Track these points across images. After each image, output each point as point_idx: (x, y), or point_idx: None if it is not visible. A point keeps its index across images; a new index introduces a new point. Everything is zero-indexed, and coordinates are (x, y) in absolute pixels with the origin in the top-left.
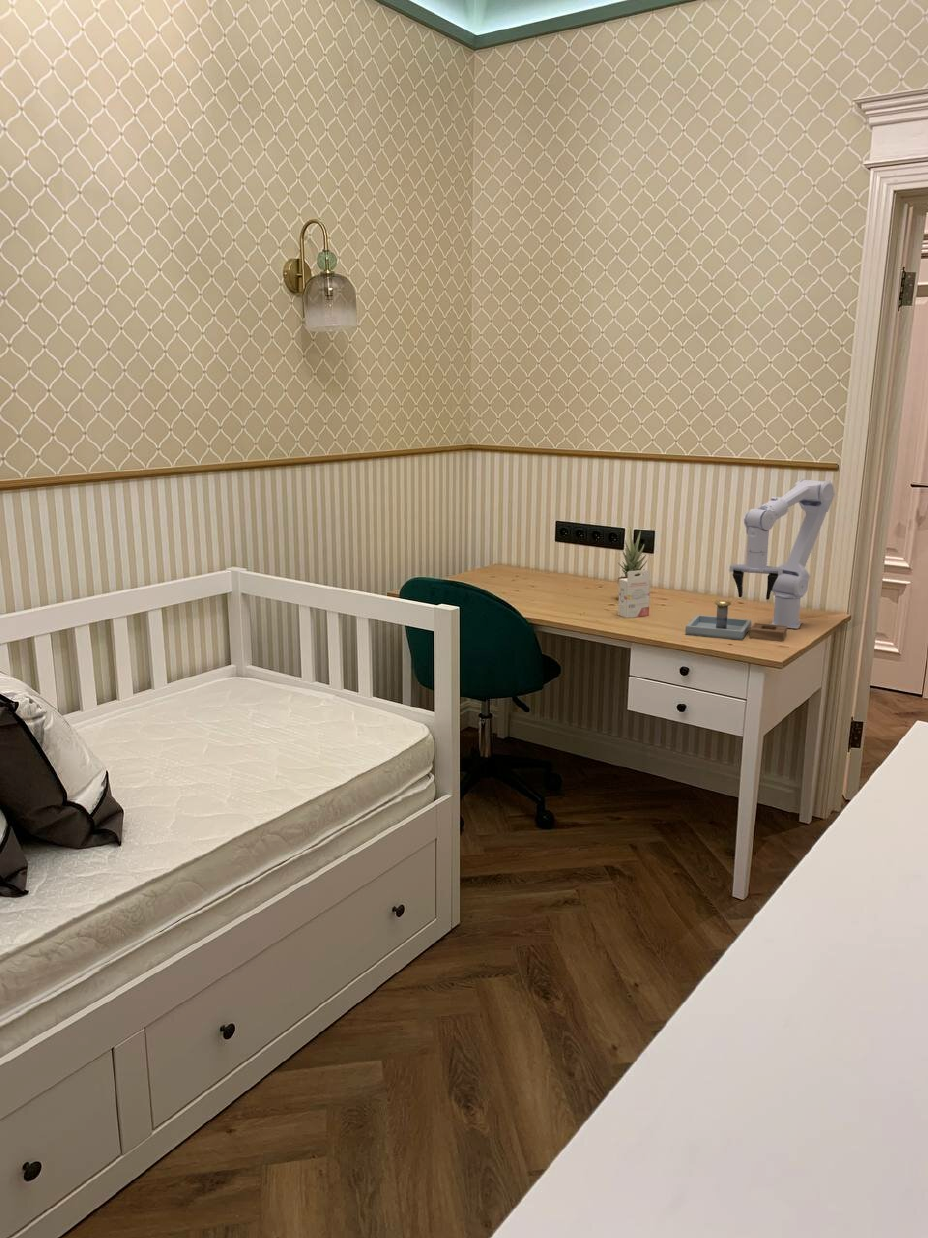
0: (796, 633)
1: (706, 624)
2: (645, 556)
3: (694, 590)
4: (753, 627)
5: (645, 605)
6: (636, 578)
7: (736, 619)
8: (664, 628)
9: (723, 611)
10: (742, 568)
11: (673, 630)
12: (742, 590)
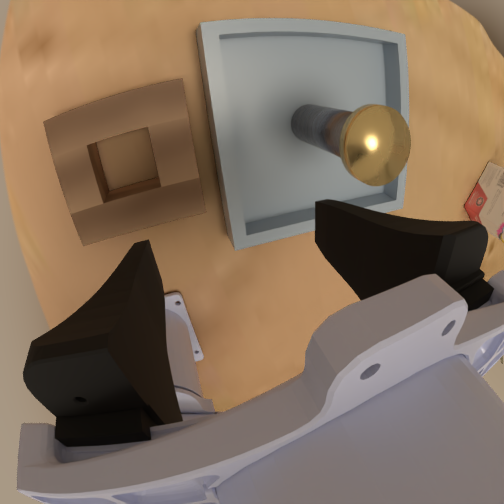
0: (74, 264)
1: None
2: (501, 359)
3: None
4: (182, 124)
5: (486, 208)
6: None
7: (286, 225)
8: (437, 93)
9: (345, 113)
10: (486, 312)
11: (419, 78)
12: (333, 264)
